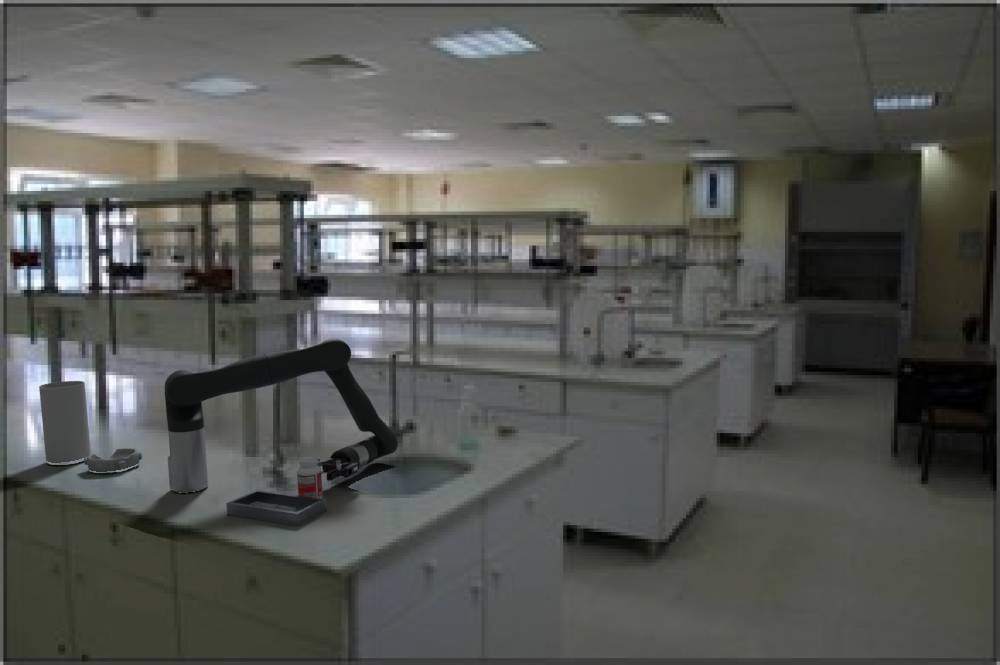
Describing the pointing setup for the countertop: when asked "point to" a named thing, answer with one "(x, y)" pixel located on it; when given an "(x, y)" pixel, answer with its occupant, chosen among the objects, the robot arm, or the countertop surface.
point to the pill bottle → (309, 478)
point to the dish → (114, 460)
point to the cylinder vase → (65, 421)
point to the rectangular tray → (276, 507)
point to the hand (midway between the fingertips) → (314, 475)
